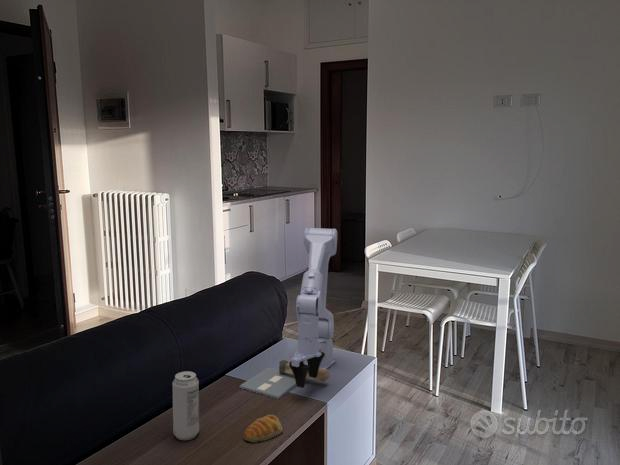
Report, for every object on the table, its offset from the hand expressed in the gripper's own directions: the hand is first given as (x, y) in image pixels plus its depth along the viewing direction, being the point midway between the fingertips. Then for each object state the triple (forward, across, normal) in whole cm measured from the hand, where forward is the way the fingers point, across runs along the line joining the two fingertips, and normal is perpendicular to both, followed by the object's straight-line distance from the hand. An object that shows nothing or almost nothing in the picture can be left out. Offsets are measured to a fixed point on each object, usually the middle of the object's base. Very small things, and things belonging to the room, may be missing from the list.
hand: (306, 381), depth 149 cm
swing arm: (+2, +6, +5) cm, 8 cm away
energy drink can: (+3, -34, +14) cm, 37 cm away
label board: (+3, 0, +11) cm, 11 cm away
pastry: (+3, -25, -2) cm, 25 cm away
